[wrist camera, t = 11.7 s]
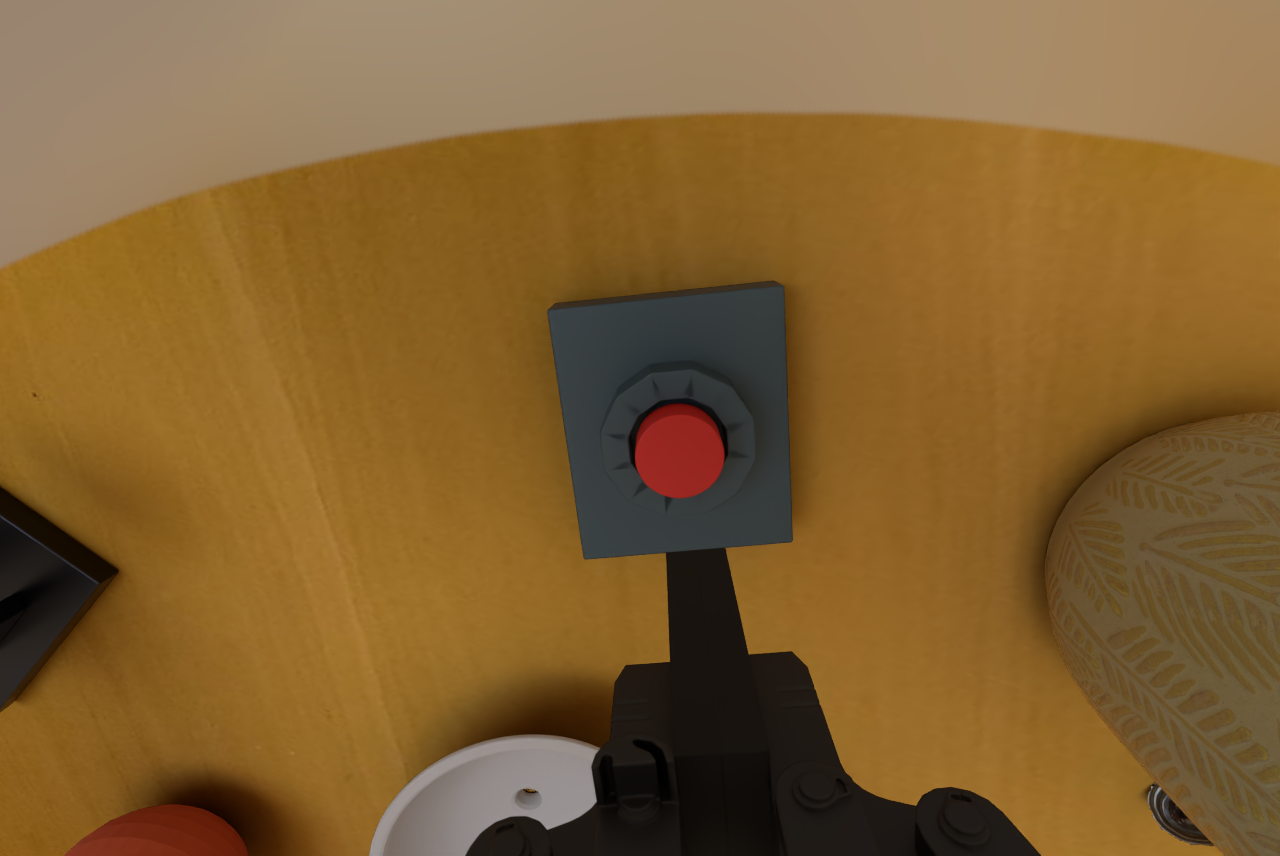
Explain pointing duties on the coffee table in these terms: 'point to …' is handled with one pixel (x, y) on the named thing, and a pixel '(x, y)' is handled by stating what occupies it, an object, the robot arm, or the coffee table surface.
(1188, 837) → the chocolate cake
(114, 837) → the tomato
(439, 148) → the coffee table surface
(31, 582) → the bracket
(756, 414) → the control block
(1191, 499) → the vase
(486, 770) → the dish
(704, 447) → the button
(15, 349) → the coffee table surface
